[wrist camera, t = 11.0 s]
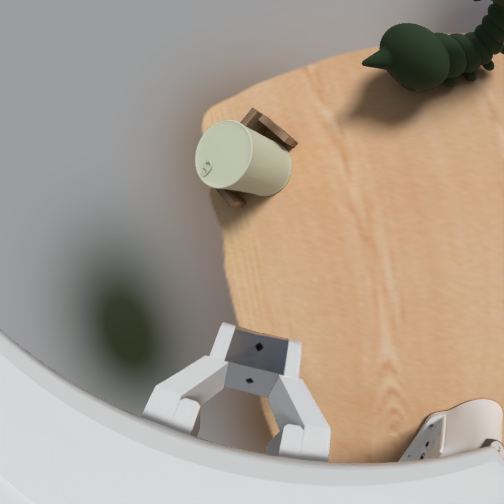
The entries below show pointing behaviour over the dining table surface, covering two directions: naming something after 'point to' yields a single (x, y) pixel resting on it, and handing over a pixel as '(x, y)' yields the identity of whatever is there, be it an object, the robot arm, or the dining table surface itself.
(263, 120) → the holder
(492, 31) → the toy figurine
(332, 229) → the dining table surface
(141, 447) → the robot arm
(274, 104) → the dining table surface
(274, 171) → the can
